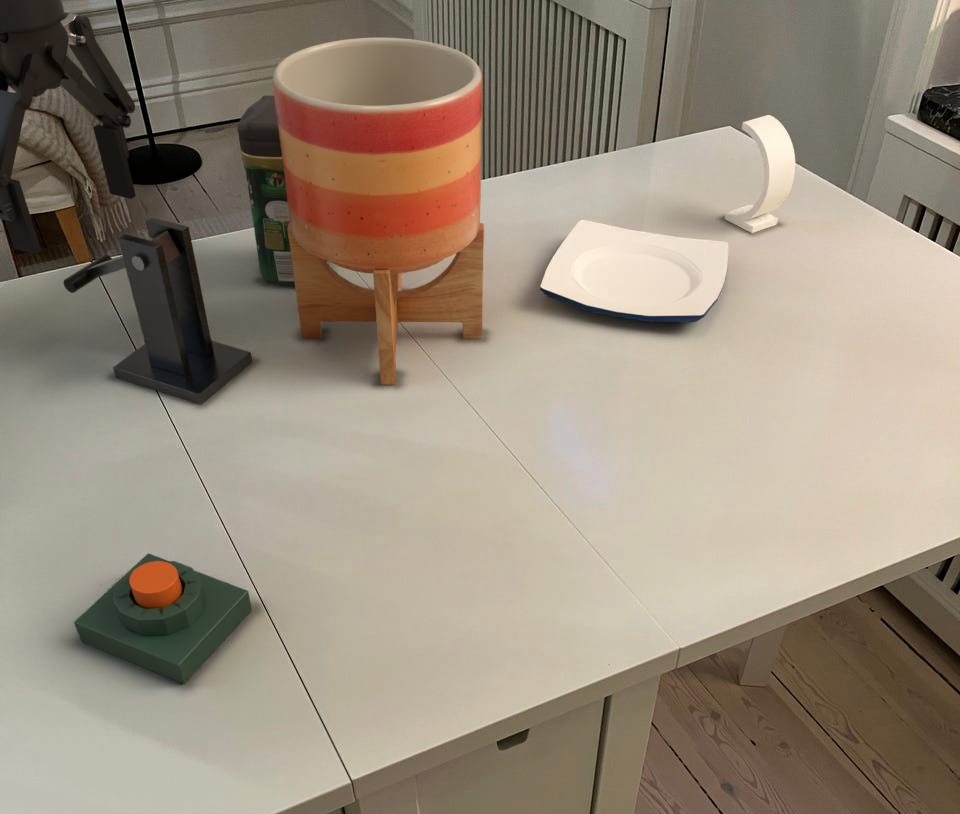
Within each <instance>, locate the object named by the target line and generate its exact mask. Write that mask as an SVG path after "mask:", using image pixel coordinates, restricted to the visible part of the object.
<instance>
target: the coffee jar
mask: <svg viewBox="0 0 960 814" xmlns="http://www.w3.org/2000/svg"><path fill="white" fill-rule="evenodd" d="M237 133H238V142H239V148H240V150H239V151H240V155H241V160H242V163H243V167H244V173H245V177H246V182H247V183H246V184H247V190H248V196H249V203H250V209H251V216H252V217H251V218H252V223H253V230H254V238H255V246H256V251H257V259H258V266H259V272H260V275H261V277H262V278H263V279H264V280H266V281H268V282H272V283H275V284H278V285H283V286H295V282H294V274H293V266H292V258H291V250H290V243H289V237H288V230H287V229H288V225H289V222H290V217H289V210H288V202H287V194H286V185H285V176H284V168H283V160H282V152H281V144H280V137H279V130H278V123H277V116H276V107H275V98H274V95H271V94H270V95H267V94H266V95H263V96H262V97H261V99H259V100H257V101H255V102H253V104H251V105H250V106H248V107H247V108H246V110H245V111H244V113H243V114H242V116H241V117H240V119H239V121H238V124H237ZM325 261H326V262H327V263H328V261H327V260H325Z"/></svg>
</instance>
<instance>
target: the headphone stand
mask: <svg viewBox="0 0 960 814" xmlns="http://www.w3.org/2000/svg"><path fill="white" fill-rule="evenodd" d="M741 131H744V132H746V133H747V134H748V135H749V136H750V137H751V138H752V140H753V141H754V142H755V143H756V146H757V148H758V149H759V153H760V155H761V158H762V163H763V172H764V173H763V183H762V184H763V185H762V189H761V192H760V195H759V197H758V200H757V201H756V203H755V204H754V205H753V204H748V205H745V206H742V207H738V208H735V209H733V210H730V211H727V212H725V214H724V220H726V221H728V222H729V223H732V224H734V225H735V226H737V227H739V228H741V229H742V230H745V231H747V232H748V233H750V234H754V233H756V232H759V231H762V230H765V229H768V228H770V227H773V226H776V225H777V224H778V221H779V217H776V216H775V215H774V214H770V213H771V212H773V211H775V210H777V209H778V208H779V207H780V206H781V205H782V204H783V203H785V201H786V199H787V198H788V196H789V195H790V192H791V190H792V187H793V184H794V180H795V174H796V155H795V150H794V144H793V142H792V140H791V137H790V134H789V133H788V131H787V130H786V128H785V127H784V125H783V124H782V122H780V121H779V120H778V119H777V118H776V117H774V116H772V114H771V115H770V114H767V115H762V116H760V117H756V118H753V119H749V120H746V121H743V122H742V125H741Z"/></svg>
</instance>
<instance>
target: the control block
mask: <svg viewBox="0 0 960 814" xmlns="http://www.w3.org/2000/svg"><path fill="white" fill-rule="evenodd" d="M154 561H163V562H167V563H170V564H171V565H173V566H174V567H175V568H176V570H177V572H178V576H179V579H180V583H181V587H182V592H181V595H180V597H179V598H178V599H177V600H176V601H175V602H174V603H173V604H170V605H168V606H165V607H163V608H158V609H148V608H144V607H142V606H140V605H139V604H138V603H137V602H136V601H135V598H134V595H133V592H132V589H131V586H130V583H129V579H130V576H131V574H132V572H133V571H134V570H135V569H136V568H138V567H139V566H141V565H143V564H145V563H149V562H154ZM250 597H251V596H250V592H249V590H248V589H244V588H242V587H239V586H237V585H234V584H231V583H229V582H226V581H223V580H221V579H218V578H216V577H213V576H210V575H208V574H205V573H203V572H199V571H196V570H194V568H193V567H191V566H188V565H186V564H183V563H180V562H178V561H174V560H168V559H164V558H162V557H159V556H157V555H154V554H151V553H147V554H146V555H144V556H143V557H142V558H141V559H140V560H139V561H138V562H137V563H136V564H134V566H132V567H131V568H130V569H129V571H127V572H126V573H125V574H124V575H122V577H121V578H120V579H119V580H117V582H115V583H114V584H113V585H112V586H111V587H110V588H109V589H108V590H107V591H105V592H104V593H103V595H101V596H100V597H99V598H98V599H97V600H96V601H95V602H93V604H92V605H90V607H88V608H87V609H86V610H85V611H84V612H83V613H82V614H81V615H80V616H79V617H77V619H75V621H73V624H74V627H75V629H76V632H77V635H78V636H79V639H80V642H81V643H84V644H87V645H88V646H91V647H94V648H96V649H99V650H101V651H104V652H105V653H109V654H111V655H113V656H115V657H118V658H120V659H123V660H125V661H127V662H130V663H132V664H135V665H137V666H139V667H141V668H144V669H146V670H149V671H151V672H154V673H155V674H159V675H161V676H163V677H166V678H168V679H170V680H173V681H175V682H176V683H179V684H180V683H181V684H183V685H185V684H186V683H187V682H188V681H189V679H191V677H192V676H193V675H194V674H195V673H196V672H197V671H198V670H199V669H200V667H201V666H202V665H203V664H204V663H205V662H206V661H207V660H208V659H209V658H210V656H212V654H213V653H214V652H215V651H217V649H218V648H219V647H220V646H221V645H222V644H223V643H224V642H225V640H226V639H227V638H228V637H229V636H230V635H231V633H232V632H233V631H235V630H236V628H237V627H238V626H239V625H240V624H241V623H242V622H243V621H244V619H245V618H247V616H248V615H249V614H250V613H251V612H252V611H253V607H252V603H251V599H250Z"/></svg>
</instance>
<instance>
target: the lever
mask: <svg viewBox="0 0 960 814" xmlns="http://www.w3.org/2000/svg"><path fill="white" fill-rule="evenodd" d="M145 239H146V240H150V241H153V242H157V243H161V244H162V246H163V250H164V255H165V259H166V264H168V263H169V262H171V261H172V260H174V259H175V258H177V257H178V256H180V253H179V251H178V249H177V247H176V245H175V243H174V242H173V240H172V238H171V236H170V234H169V232H168V231H165V232H162V233H160V234H157V235H154V236H151V237H149V236H148V237H147V238H145ZM124 269H125V270H126V267H125V263H124V259H123V255H121V256H117V257H115V258H112V257H111V256H110V255H109V254H103V255H102V256H101V257H99V258H97V259H95V260H94V261H92V262H90V263H89V264H87V265H86V266H84V267H83V268H80V269H79V270H77V271H75V272H74V273H73V274H71V275H69V276H68V277H67V278H64V280H63V281H62V283H63V286H64V288H65V290H66V291H67V292H69V293H72V294H74V293H76V292H78V291H79V290H80V289H82V288H84V287H85V286H87V285H88V284H90V283H91V282H94V281H95V280H96V279H98V278H100V277H103V276H107V275H109V274H112V273H115V272H119V271H122V270H124Z"/></svg>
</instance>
